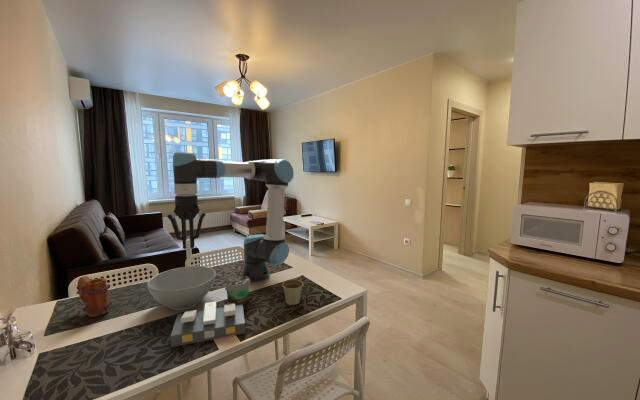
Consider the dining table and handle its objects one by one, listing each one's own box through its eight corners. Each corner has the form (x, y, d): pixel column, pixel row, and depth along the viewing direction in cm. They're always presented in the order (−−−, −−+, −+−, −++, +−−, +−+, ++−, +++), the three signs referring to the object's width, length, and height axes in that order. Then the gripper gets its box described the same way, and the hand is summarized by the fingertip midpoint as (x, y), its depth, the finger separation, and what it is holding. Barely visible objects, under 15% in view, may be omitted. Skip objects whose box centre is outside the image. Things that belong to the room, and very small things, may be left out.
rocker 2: (205, 306, 103) (205, 302, 103) (216, 304, 105) (216, 301, 104) (203, 325, 94) (203, 321, 94) (215, 323, 96) (215, 319, 95)
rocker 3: (224, 309, 106) (224, 304, 106) (235, 307, 107) (235, 303, 107) (224, 316, 96) (224, 311, 96) (235, 314, 98) (235, 309, 98)
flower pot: (300, 308, 115) (300, 289, 114) (279, 306, 117) (279, 287, 116) (305, 298, 124) (305, 280, 123) (286, 296, 126) (286, 278, 125)
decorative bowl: (227, 302, 119) (226, 276, 118) (160, 328, 100) (158, 297, 98) (201, 284, 137) (200, 262, 136) (141, 303, 118) (139, 277, 117)
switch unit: (178, 324, 103) (177, 311, 102) (242, 313, 111) (242, 302, 110) (171, 347, 89) (170, 333, 89) (245, 333, 97) (244, 320, 97)
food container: (235, 311, 112) (234, 288, 111) (225, 307, 115) (224, 285, 114) (256, 299, 123) (256, 278, 121) (247, 295, 126) (246, 275, 125)
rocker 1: (185, 315, 101) (185, 311, 101) (196, 314, 102) (196, 309, 102) (181, 323, 92) (181, 317, 92) (193, 320, 93) (193, 315, 93)
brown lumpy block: (116, 310, 112) (114, 276, 110) (95, 321, 104) (91, 284, 102) (93, 304, 116) (90, 271, 115) (71, 314, 109) (67, 279, 107)
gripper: (163, 196, 93) (167, 261, 96) (204, 195, 97) (207, 258, 100) (168, 194, 100) (171, 255, 103) (206, 193, 104) (208, 252, 107)
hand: (189, 256), depth 101 cm, fingers closed
